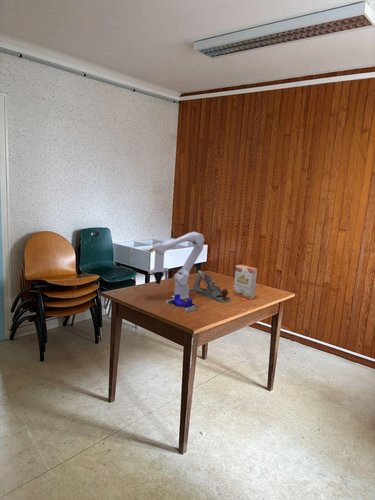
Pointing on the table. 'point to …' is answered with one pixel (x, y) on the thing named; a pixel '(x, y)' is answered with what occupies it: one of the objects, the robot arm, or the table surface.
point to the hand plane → (210, 288)
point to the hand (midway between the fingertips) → (157, 283)
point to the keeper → (188, 309)
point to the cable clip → (179, 303)
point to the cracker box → (245, 281)
